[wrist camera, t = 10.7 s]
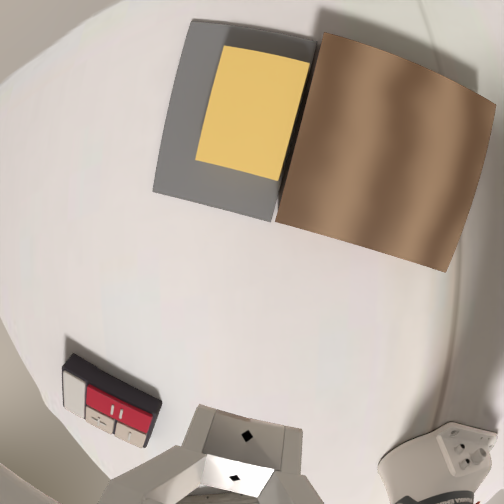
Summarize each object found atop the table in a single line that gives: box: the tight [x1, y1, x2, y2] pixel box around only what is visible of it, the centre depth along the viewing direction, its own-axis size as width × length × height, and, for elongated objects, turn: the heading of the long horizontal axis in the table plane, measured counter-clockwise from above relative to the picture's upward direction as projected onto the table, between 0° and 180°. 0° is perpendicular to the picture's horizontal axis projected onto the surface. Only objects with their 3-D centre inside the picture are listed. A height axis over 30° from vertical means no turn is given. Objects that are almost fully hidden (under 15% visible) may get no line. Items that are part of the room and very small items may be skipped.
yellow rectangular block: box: [195, 46, 310, 181], centre depth 25 cm, size 7×10×2 cm
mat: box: [153, 21, 317, 222], centre depth 27 cm, size 12×17×1 cm
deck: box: [275, 32, 496, 273], centre depth 24 cm, size 16×16×4 cm
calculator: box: [62, 353, 162, 448], centre depth 41 cm, size 11×4×15 cm
